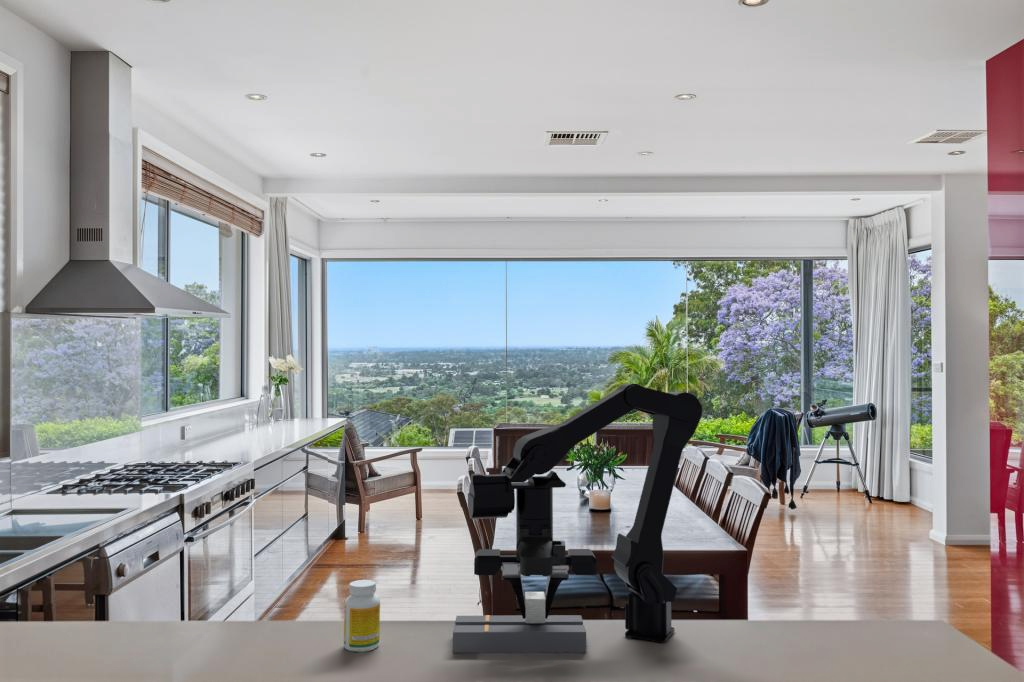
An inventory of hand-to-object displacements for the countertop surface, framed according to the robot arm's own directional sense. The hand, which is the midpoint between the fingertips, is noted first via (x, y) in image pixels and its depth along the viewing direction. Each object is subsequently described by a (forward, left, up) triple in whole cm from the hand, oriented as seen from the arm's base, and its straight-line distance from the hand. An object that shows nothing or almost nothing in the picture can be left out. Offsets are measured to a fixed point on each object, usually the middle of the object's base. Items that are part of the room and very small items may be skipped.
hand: (534, 617), depth 116 cm
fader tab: (0, 0, -2) cm, 2 cm away
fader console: (+2, +1, -4) cm, 5 cm away
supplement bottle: (+23, +13, -4) cm, 27 cm away
